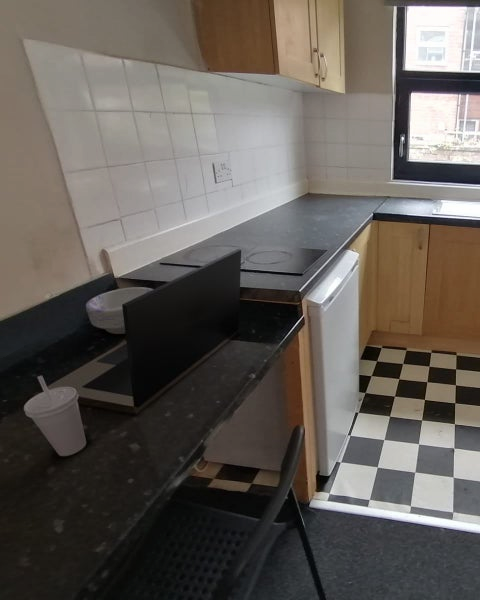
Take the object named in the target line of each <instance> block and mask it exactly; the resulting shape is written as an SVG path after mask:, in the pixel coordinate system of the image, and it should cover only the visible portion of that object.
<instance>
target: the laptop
mask: <svg viewBox="0 0 480 600" xmlns="http://www.w3.org/2000/svg"><path fill="white" fill-rule="evenodd" d="M236 336H237V331H236V332H235V333H233V334H232V335H231V336H229V337H228V338H227V339H226V340H224V341H223V342H222V343H220V344H219V345H218V346H217V347H215V348H214V349H213V350H211V351H210V352H209V353H208V354H206V355H205V356H204V357H202V358H201V359H200V360H199V361H197V362H196V363H195V364H193V365H192V366H191V367H190V368H188V369H187V370H186V371H184V372H183V373H182V374H181V375H179V376H178V377H177V378H175V379H174V380H173V381H172V382H170V383H169V384H168V385H166V386H165V387H164V388H163V389H161V390H160V391H159V392H157V393H156V394H155V395H154V396H152V397H151V398H150V399H148V400H147V401H146V402H145V403H143V404H142V405H141V406H139V407H138V408H137V407H134V403H133V394H132V386H131V377H130V369H129V360H128V351H127V343H126V340H125V341H124V342H121V343H120V344H118V345H117V346H115V347H112V348H111V349H109V350H108V351H106V352H104V353H103V354H101V355H99V356H98V357H96V358H94V359H93V360H90V361H89V362H87V363H85V364H84V365H82V366H80V367H78V368H77V369H75V370H73V371H71V372H70V373H68V374H66V375H65V376H63V377H61V378H60V379H58V380H56V381H54V382H53V383H51V384H49V385H48V386H47V388H48V390H50V389H54V388H58V387H72V388H74V389H76V391H77V393H78V395H79V396H78V399H77V402H78V405H85V406H88V407H89V406H90V407H95V408H100V409H106V410H110V411H112V410H113V411H116V412H121V413H127V414H132V415H137V414H139V413H140V412H141V411H143V409H145V408H146V407H147V406H148V405H150V404H151V403H153V402H154V401H155V400H156V399H157V398H159V397H160V396H161V395H163V394H164V393H165V392H166V391H167V390H169V389H171V387H173V386H174V385H175V384H176V383H178V382H179V381H181V379H183V378H184V377H185V376H187V375H188V374H189V373H190V372H192V371H193V370H194V369H196V368H197V367H198V366H199V365H200V364H201V363H203V362H204V361H206V360H207V359H208V358H209V357H210V356H212V355H213V354H214V353H216V352H217V351H218V350H219V349H221V348H222V347H224V346H225V344H227V343H228V342H229V341H231V340H232V339H233V338H234V337H236ZM41 389H42V388H41ZM41 391H42V392H44V391H43V389H42V390H41Z"/></svg>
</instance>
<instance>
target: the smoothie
mask: <svg viewBox="0 0 480 600" xmlns="http://www.w3.org/2000/svg"><path fill="white" fill-rule="evenodd" d="M36 378H37V380H38V382H39V384H40V386H41V389H43V390H42V391H41V392H40V393H38V394H36V395H34V396H33V397H31V398H30V399H29V400H27V401H26V403H25V404H24V406H23V411H24V414H25V416H26V417H28V418H31V419H32V421H33V422H34V424H35V425H36V426H37V427H38V429H39V431H40V432H41V433H42V434H43V436H44V438H45V439H46V440H47V441H48V442H49V444H50V445H51V446H52V448H53V449H54V451H55V452H56V453H57V455H58V456H60V457H68V456H72V455H75V454H77V453H78V452H80V451H81V450H83V449H84V448H85V447H86V445H87V439H86V434H85V429H84V424H83V421H82V416H81V411H80V406H79V403H78V402H77V399H78V396H79V395H78V393H77V391H76V389H74V388H72V387H58V388H54V389H50V390H48V388H47V384H46V381H45V379H44V377H43V375H38V376H37V377H36ZM43 391H44V392H43Z"/></svg>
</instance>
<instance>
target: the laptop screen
mask: <svg viewBox="0 0 480 600" xmlns="http://www.w3.org/2000/svg"><path fill="white" fill-rule="evenodd" d="M241 271H242V249H240V248H237V249H235V250H233V251H231V252H228V253H226V254H225V255H222V256H220V257H218V258H215V259H214V260H212V261H210V262H208V263H205V264H204V265H202V266H199V267H197V268H195V269H193V270H191V271H188V272H187V273H184V274H183V275H180V276H179V277H176V278H174V279H172V280H170V281H168V282H166V283H164V284H162V285H160V286H158V287H155V288H152V289H153V290H151V291H149V292H147V293H145V294H143V295H141V296H139V297H137V298H135V299H133V300H131V301H128V302H126V303H124V304H122V308H123V317H124V326H125V334H124V335H125V341H126V343H127V351H128V360H129V369H130V377H131V386H132V394H133V403H134V407H137V408H138V407H139V406H141V405H142V404H143V403H145V402H146V401H147V400H148V399H150V398H151V397H152V396H154V395H155V394H156V393H157V392H159V391H160V390H161V389H163V388H164V387H165V386H166V385H168V384H169V383H170V382H172V381H173V380H174V379H175V378H177V377H178V376H179V375H181V374H182V373H183V372H184V371H186V370H187V369H188V368H190V367H191V366H192V365H193V364H195V363H196V362H197V361H199V360H200V359H201V358H202V357H204V356H205V355H206V354H208V353H209V352H210V351H211V350H213V349H214V348H215V347H217V346H218V345H219V344H220V343H222V342H223V341H224V340H226V339H227V338H228V337H229V336H231V335H232V334H233V333H235V332H236V333H237V331H238V330H239V327H240V299H241V274H242V273H241Z"/></svg>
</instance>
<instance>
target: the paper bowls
mask: <svg viewBox="0 0 480 600" xmlns="http://www.w3.org/2000/svg"><path fill="white" fill-rule="evenodd" d="M153 289H154V288H151V287H145V286H144V287H141V286H136V287H133V286H132V287H125V288H124V287H123V288H118V289H114V290H109V291H106V292H103V293H100V294H98V295H96V296H94V297H92V298H91V299H89V300H88V301H87V302H86V304H85V310H86V313H87V316H88V318H89V321H90V324H91V325H92V326H93V327H95V328H99V329H104V331H106V332H108V333H109V334H114V335H126V334H125V326H124V317H123V308H122V304H124V303H126V302H128V301H131V300H133V299H135V298H137V297H139V296H141V295H143V294H145V293H147V292H149V291H151V290H153Z"/></svg>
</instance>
